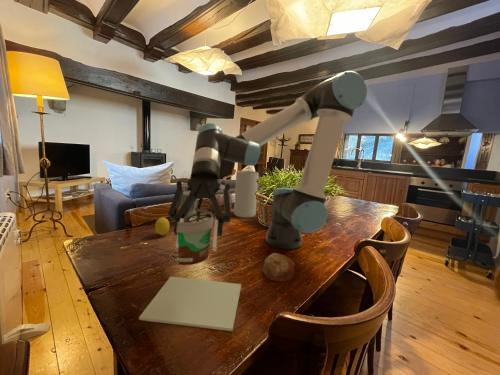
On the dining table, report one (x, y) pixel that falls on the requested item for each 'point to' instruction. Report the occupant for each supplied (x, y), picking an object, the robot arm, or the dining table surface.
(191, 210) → the coffeepot
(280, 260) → the bread roll
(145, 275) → the dining table surface
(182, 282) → the mat
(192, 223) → the food container
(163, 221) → the lemon
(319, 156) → the robot arm
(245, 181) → the cylinder vase
